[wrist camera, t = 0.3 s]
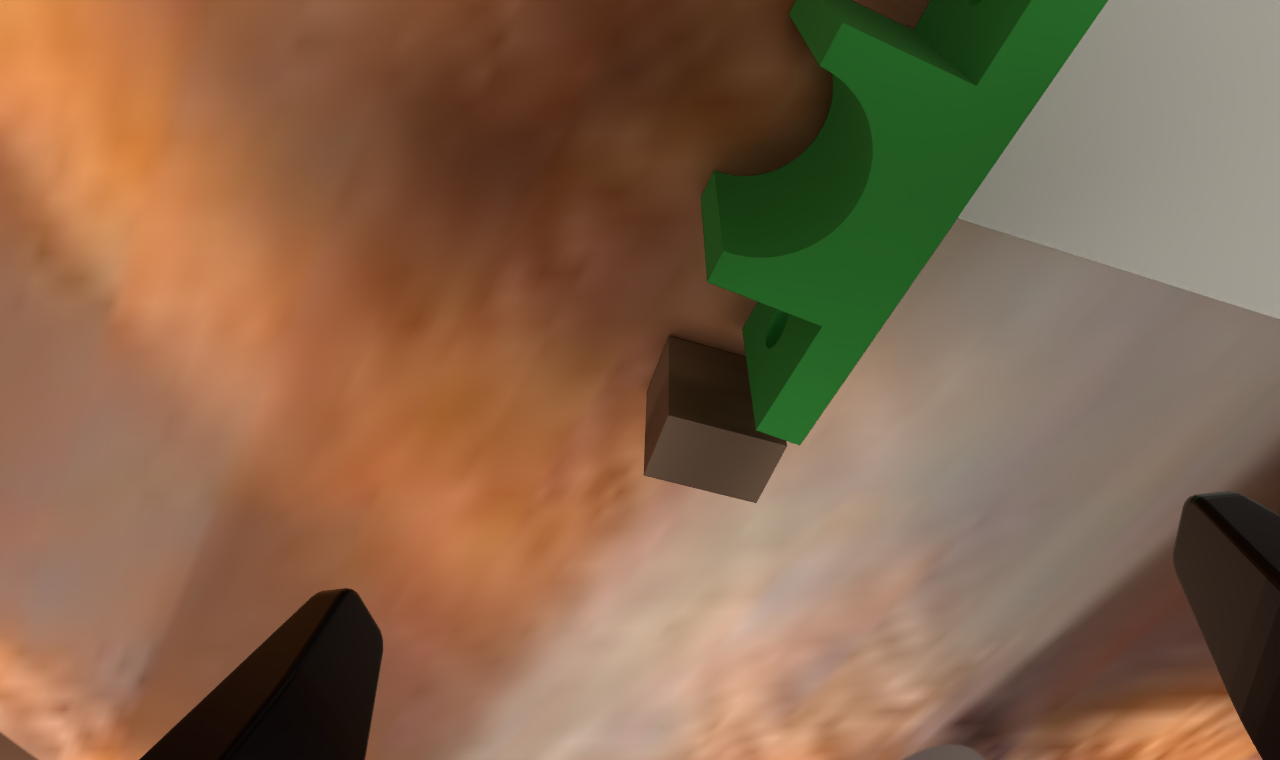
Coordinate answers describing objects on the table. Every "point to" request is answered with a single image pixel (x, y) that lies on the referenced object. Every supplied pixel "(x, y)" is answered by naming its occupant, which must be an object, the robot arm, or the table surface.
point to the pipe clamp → (873, 181)
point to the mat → (1157, 150)
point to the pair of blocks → (706, 424)
